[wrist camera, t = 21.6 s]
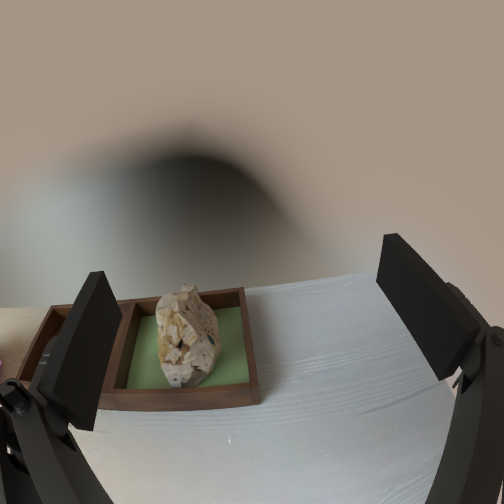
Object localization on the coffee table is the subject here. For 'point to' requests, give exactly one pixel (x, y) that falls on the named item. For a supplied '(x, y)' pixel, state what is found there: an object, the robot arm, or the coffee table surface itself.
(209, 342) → the rock
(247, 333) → the divided wooden tray
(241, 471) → the coffee table surface
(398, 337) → the coffee table surface
